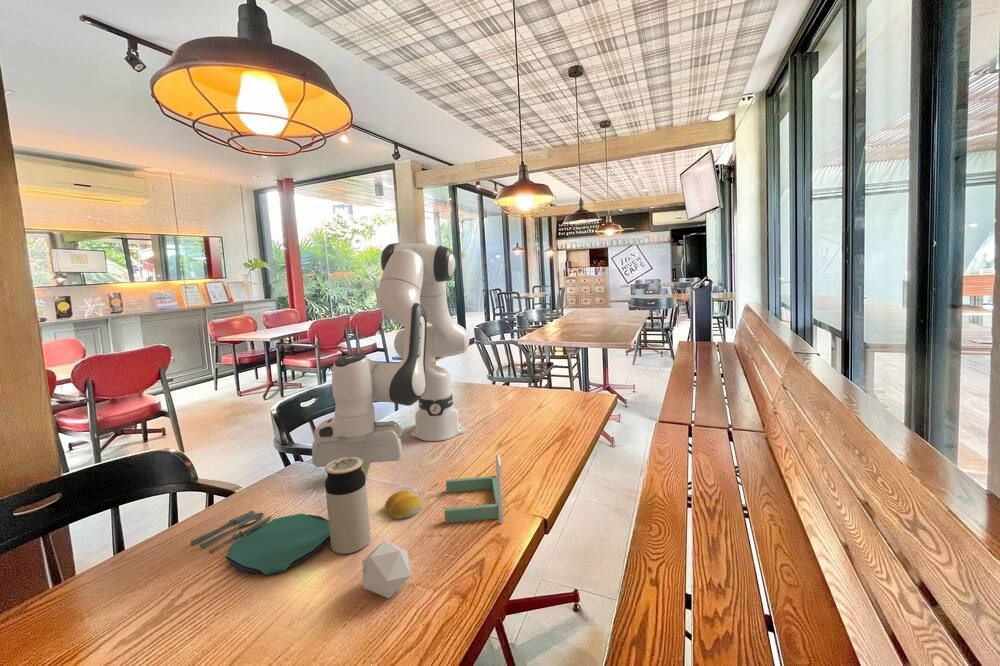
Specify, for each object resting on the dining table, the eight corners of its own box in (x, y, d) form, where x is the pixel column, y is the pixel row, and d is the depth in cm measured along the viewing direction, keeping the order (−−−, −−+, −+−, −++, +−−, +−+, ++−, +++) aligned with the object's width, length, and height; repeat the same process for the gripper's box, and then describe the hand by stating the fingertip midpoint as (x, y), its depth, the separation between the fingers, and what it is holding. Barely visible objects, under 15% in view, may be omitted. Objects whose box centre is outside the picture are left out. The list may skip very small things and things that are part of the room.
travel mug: (377, 535, 96) (371, 457, 94) (354, 558, 89) (347, 474, 86) (347, 530, 99) (340, 454, 96) (323, 551, 91) (314, 470, 89)
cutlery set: (273, 592, 81) (271, 580, 80) (180, 552, 94) (178, 542, 94) (352, 533, 98) (351, 523, 98) (264, 506, 112) (263, 498, 111)
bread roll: (398, 524, 101) (397, 508, 100) (381, 509, 108) (379, 494, 107) (429, 510, 106) (428, 495, 106) (410, 497, 113) (409, 482, 112)
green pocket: (446, 490, 115) (443, 432, 113) (496, 486, 116) (494, 428, 114) (444, 541, 93) (440, 470, 91) (505, 535, 94) (503, 465, 92)
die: (380, 571, 86) (349, 549, 80) (417, 548, 86) (389, 524, 80) (383, 613, 79) (349, 592, 73) (424, 587, 79) (393, 565, 73)
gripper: (402, 416, 107) (406, 470, 108) (315, 422, 105) (320, 477, 106) (399, 424, 100) (403, 482, 102) (306, 431, 98) (312, 489, 100)
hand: (360, 480), depth 104 cm, fingers closed
